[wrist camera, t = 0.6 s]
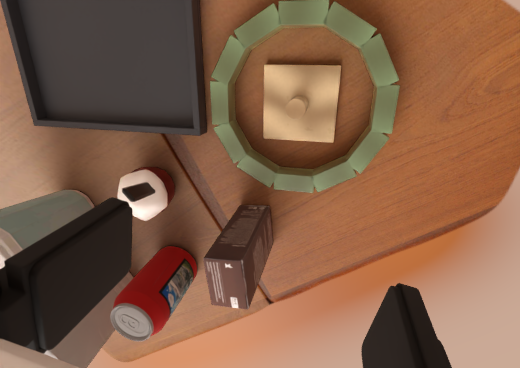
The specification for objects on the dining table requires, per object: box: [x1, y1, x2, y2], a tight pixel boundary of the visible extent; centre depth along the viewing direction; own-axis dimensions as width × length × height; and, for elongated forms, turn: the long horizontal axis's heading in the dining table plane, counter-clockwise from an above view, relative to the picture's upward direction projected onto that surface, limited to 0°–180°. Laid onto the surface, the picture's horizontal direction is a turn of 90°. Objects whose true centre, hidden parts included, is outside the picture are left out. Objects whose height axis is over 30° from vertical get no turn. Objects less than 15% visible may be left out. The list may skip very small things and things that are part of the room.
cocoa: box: [118, 167, 175, 221], centre depth 35 cm, size 10×6×12 cm, turn 109°
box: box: [203, 205, 273, 309], centre depth 35 cm, size 6×4×12 cm
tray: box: [0, 0, 207, 136], centre depth 34 cm, size 24×24×2 cm
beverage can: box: [110, 246, 197, 341], centre depth 40 cm, size 7×7×12 cm
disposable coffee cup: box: [0, 190, 95, 269], centre depth 39 cm, size 11×11×15 cm
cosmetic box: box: [44, 272, 134, 368], centre depth 42 cm, size 8×7×16 cm
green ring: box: [210, 0, 400, 193], centre depth 32 cm, size 19×19×3 cm
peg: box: [263, 65, 341, 143], centre depth 31 cm, size 8×8×5 cm
